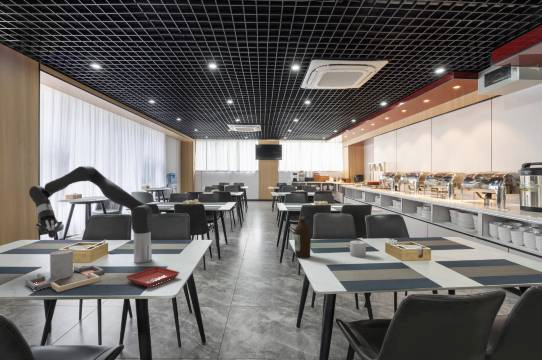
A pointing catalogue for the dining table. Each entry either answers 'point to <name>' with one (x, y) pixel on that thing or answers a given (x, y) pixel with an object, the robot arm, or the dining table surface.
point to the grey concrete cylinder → (61, 264)
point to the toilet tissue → (357, 248)
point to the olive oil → (302, 239)
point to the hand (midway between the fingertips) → (52, 237)
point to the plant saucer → (152, 276)
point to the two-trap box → (88, 271)
